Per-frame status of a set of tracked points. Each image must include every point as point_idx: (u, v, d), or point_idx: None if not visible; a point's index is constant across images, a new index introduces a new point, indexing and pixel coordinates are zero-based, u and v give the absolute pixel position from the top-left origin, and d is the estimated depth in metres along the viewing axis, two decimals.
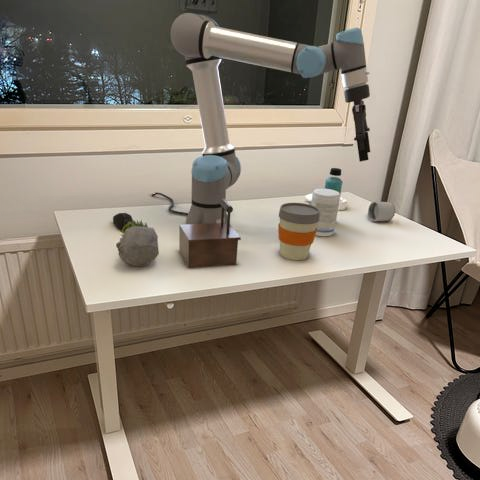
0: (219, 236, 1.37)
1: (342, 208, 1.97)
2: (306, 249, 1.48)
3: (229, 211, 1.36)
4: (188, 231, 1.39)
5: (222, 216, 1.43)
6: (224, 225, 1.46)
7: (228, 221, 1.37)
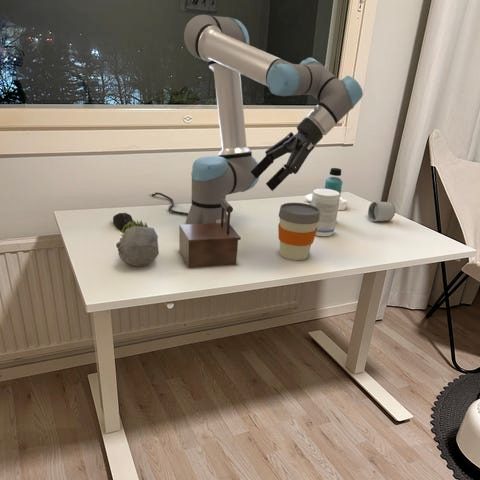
0: (219, 236, 1.37)
1: (342, 208, 1.97)
2: (306, 249, 1.48)
3: (229, 211, 1.36)
4: (188, 231, 1.39)
5: (222, 216, 1.43)
6: (224, 225, 1.46)
7: (228, 221, 1.37)
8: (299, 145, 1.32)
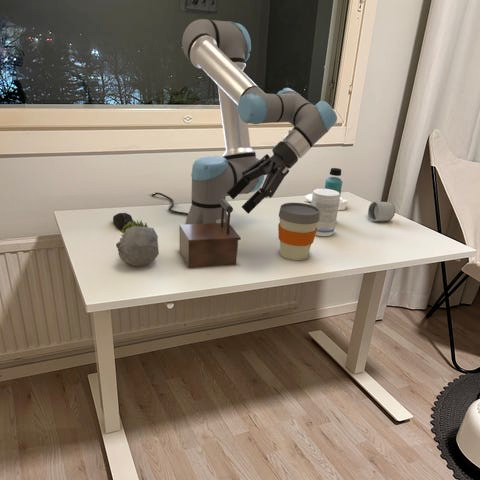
0: (219, 236, 1.37)
1: (342, 208, 1.97)
2: (306, 249, 1.48)
3: (229, 211, 1.36)
4: (188, 231, 1.39)
5: (222, 216, 1.43)
6: (224, 225, 1.46)
7: (228, 221, 1.37)
8: (274, 168, 1.34)
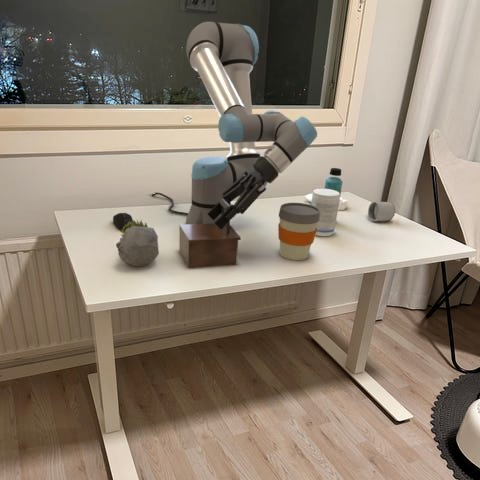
0: (219, 236, 1.37)
1: (342, 208, 1.97)
2: (306, 249, 1.48)
3: None
4: (188, 231, 1.39)
5: None
6: None
7: None
8: (254, 183, 1.34)
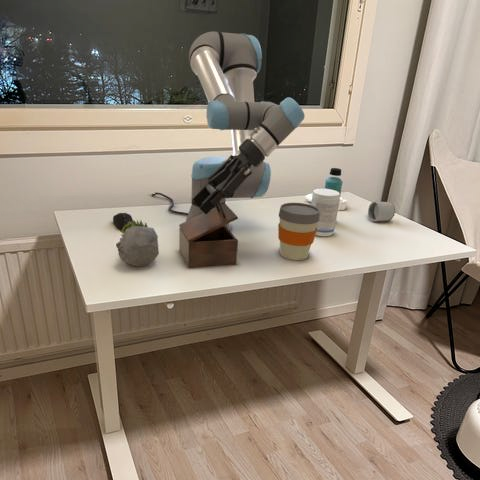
0: (216, 223, 1.35)
1: (342, 208, 1.97)
2: (306, 249, 1.48)
3: None
4: (187, 229, 1.39)
5: None
6: None
7: (219, 205, 1.34)
8: (240, 167, 1.30)
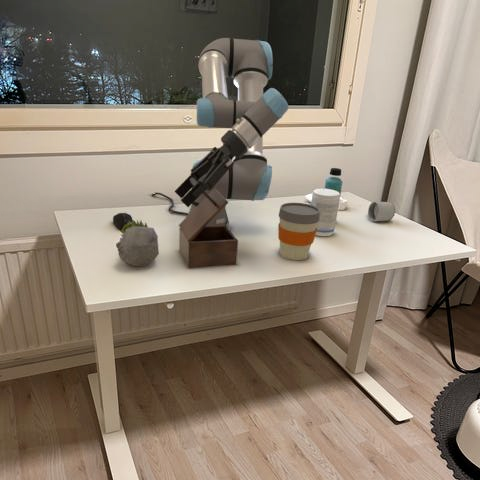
0: (210, 214, 1.33)
1: (342, 208, 1.97)
2: (306, 249, 1.48)
3: None
4: (186, 228, 1.38)
5: None
6: (212, 194, 1.39)
7: (206, 196, 1.32)
8: (222, 159, 1.28)
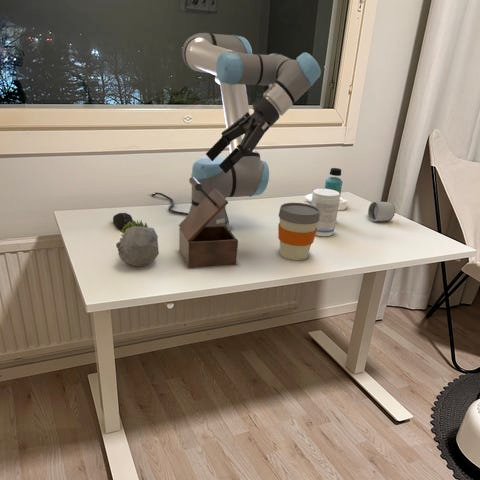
0: (210, 214, 1.33)
1: (342, 208, 1.97)
2: (306, 249, 1.48)
3: (199, 188, 1.30)
4: (186, 228, 1.38)
5: (202, 191, 1.37)
6: (212, 194, 1.39)
7: (206, 196, 1.32)
8: (254, 125, 1.26)
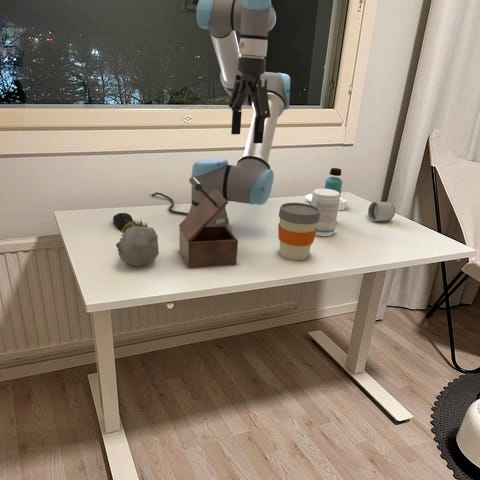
0: (210, 214, 1.33)
1: (342, 208, 1.97)
2: (306, 249, 1.48)
3: (199, 188, 1.30)
4: (186, 228, 1.38)
5: (202, 191, 1.37)
6: (212, 194, 1.39)
7: (206, 196, 1.32)
8: (253, 87, 1.31)
